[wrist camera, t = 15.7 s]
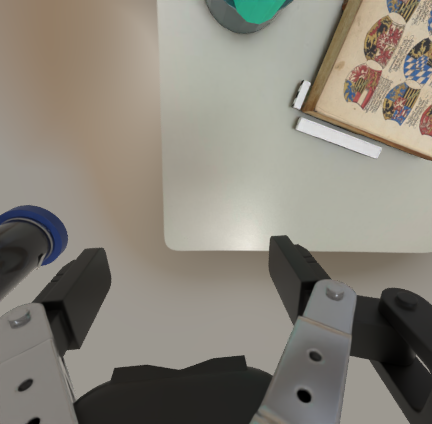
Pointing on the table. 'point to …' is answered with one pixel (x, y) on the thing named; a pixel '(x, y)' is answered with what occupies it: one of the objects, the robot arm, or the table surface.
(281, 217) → the table surface
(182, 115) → the table surface
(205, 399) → the robot arm
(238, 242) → the table surface
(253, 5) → the candle
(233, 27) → the pot
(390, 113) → the book
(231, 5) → the pot lid
